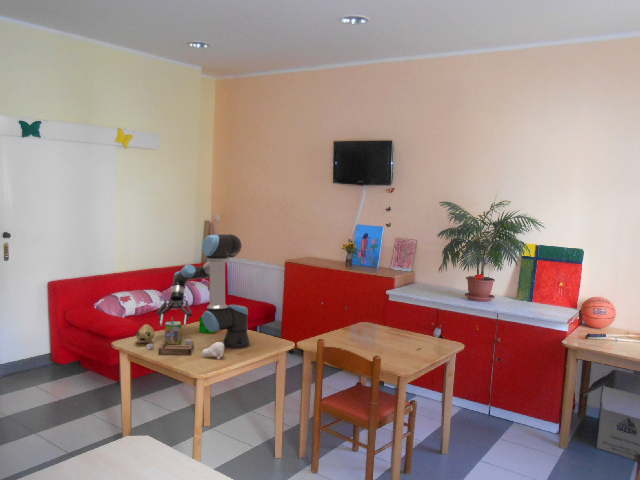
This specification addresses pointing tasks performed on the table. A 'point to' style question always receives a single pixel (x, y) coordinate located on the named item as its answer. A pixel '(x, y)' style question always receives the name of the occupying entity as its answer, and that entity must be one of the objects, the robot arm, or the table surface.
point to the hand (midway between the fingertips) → (172, 325)
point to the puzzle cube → (202, 328)
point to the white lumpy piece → (214, 350)
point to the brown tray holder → (175, 349)
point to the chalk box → (173, 332)
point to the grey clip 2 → (187, 341)
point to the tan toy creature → (145, 334)
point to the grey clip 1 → (149, 347)
